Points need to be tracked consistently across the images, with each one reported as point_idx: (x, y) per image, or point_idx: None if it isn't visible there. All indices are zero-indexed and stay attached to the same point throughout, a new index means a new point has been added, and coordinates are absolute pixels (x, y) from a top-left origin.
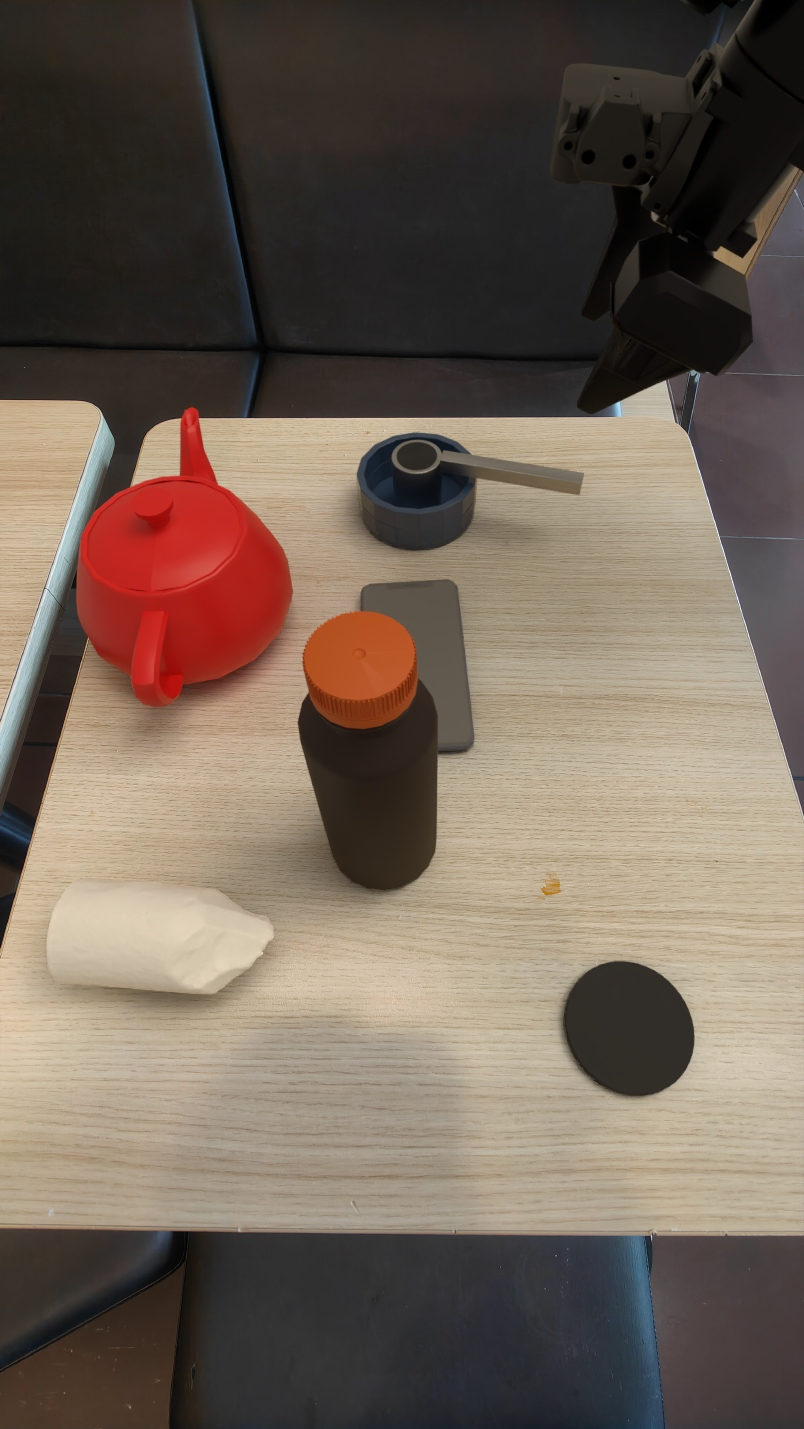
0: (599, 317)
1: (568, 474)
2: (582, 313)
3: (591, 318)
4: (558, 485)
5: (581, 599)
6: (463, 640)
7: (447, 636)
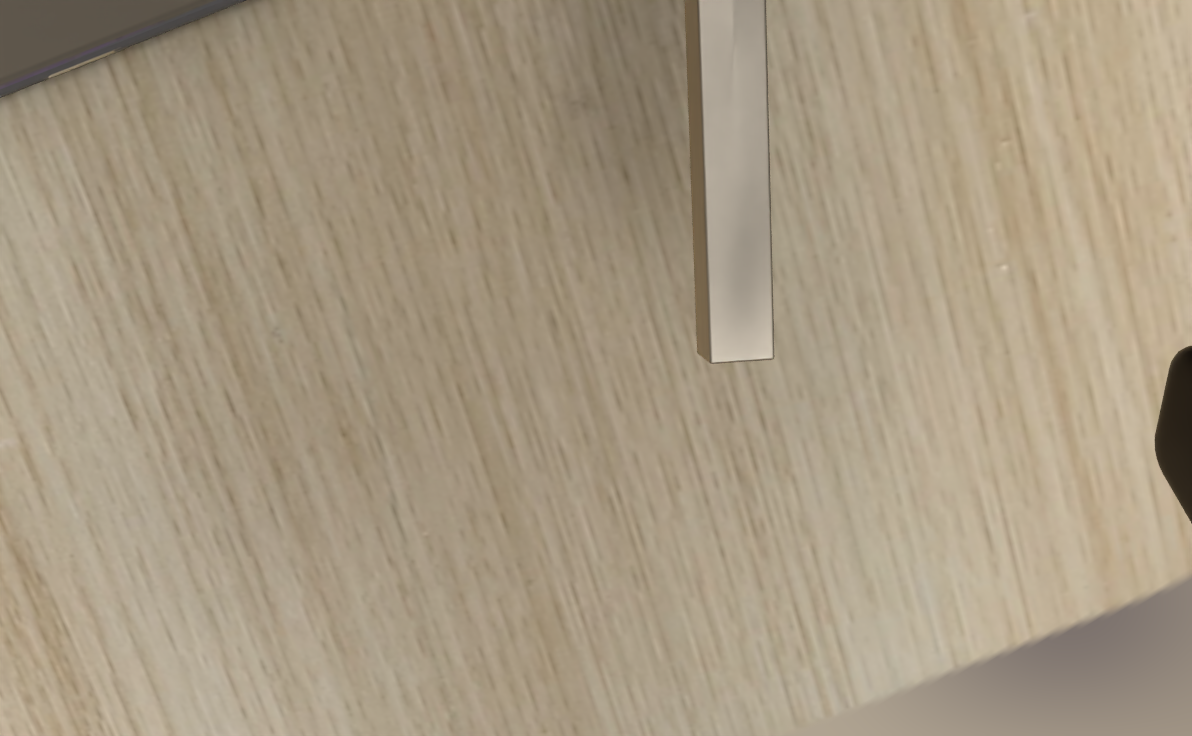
0: (1178, 499)
1: (748, 299)
2: (1188, 357)
3: (1163, 434)
4: (700, 268)
5: (403, 418)
6: (28, 81)
7: (11, 19)
